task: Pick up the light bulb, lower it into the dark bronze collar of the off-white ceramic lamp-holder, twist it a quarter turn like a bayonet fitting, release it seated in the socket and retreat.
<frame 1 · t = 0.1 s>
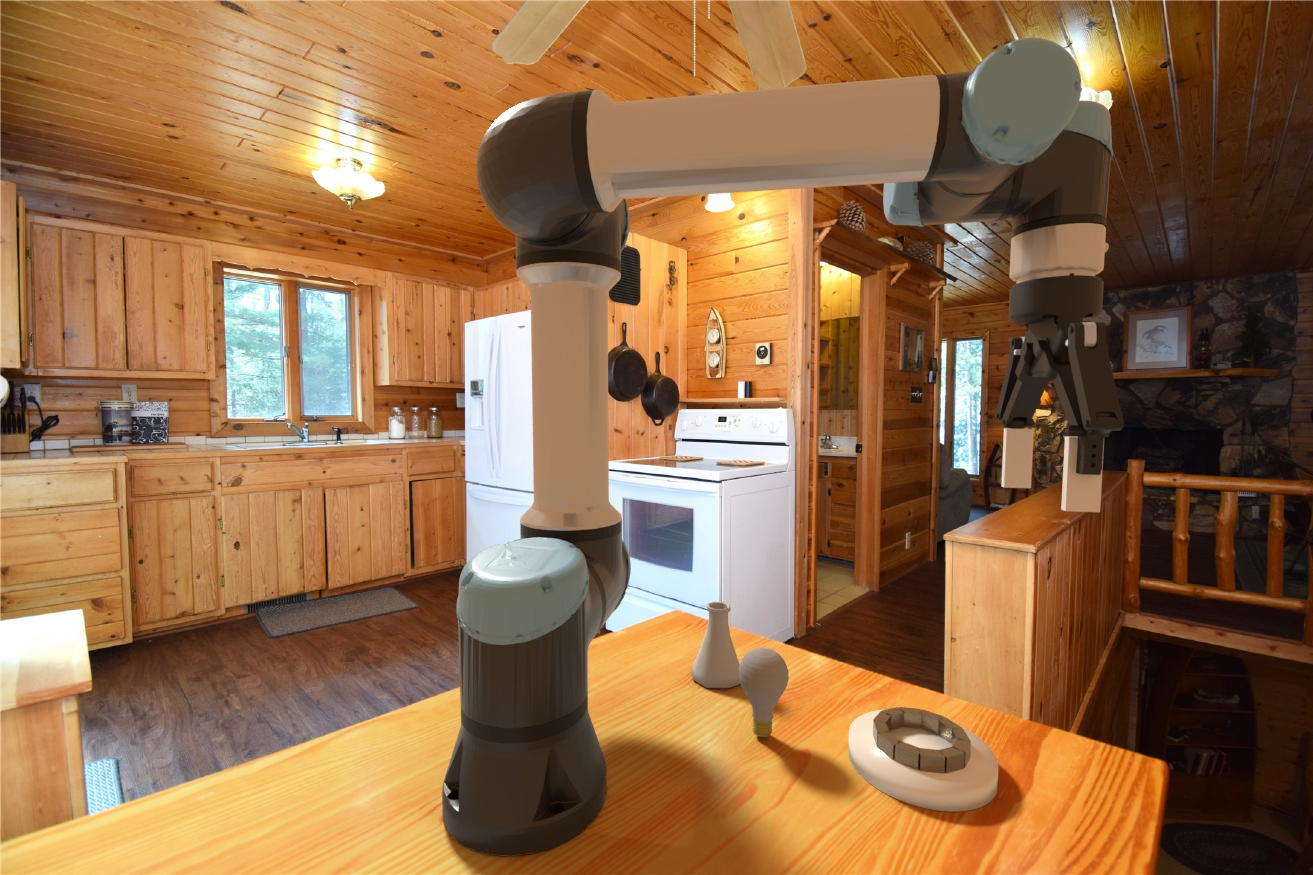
hand: (1044, 498, 58), 28 cm above the table, fingers open, 13 cm apart
socket collar: (920, 737, 60), on the socket base, point 2 cm above the table
flask: (717, 678, 79), on the table
light bulb: (762, 737, 65), on the table
socket base: (919, 763, 61), on the table
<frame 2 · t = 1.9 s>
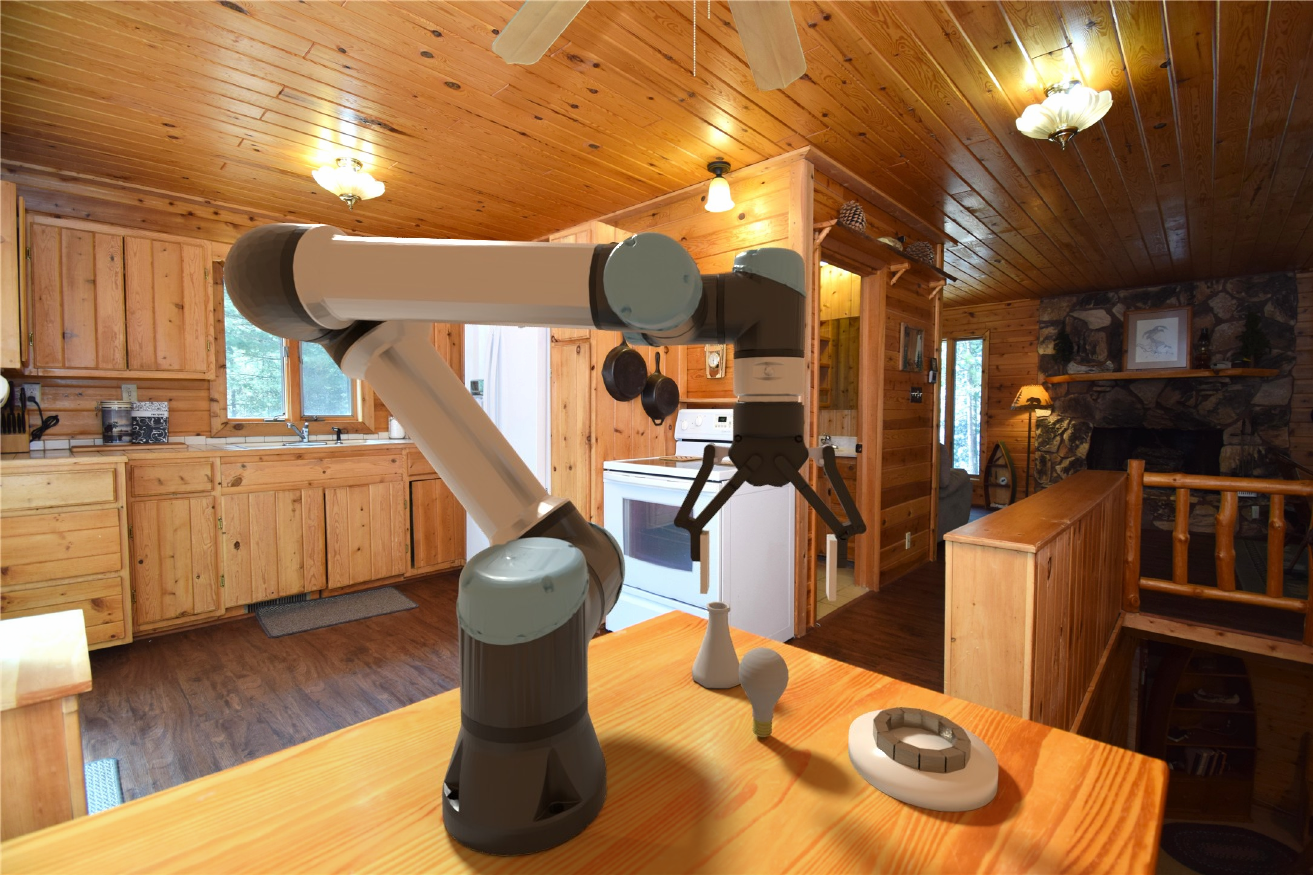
hand: (766, 593, 64), 16 cm above the table, fingers open, 13 cm apart
nothing on the table moved.
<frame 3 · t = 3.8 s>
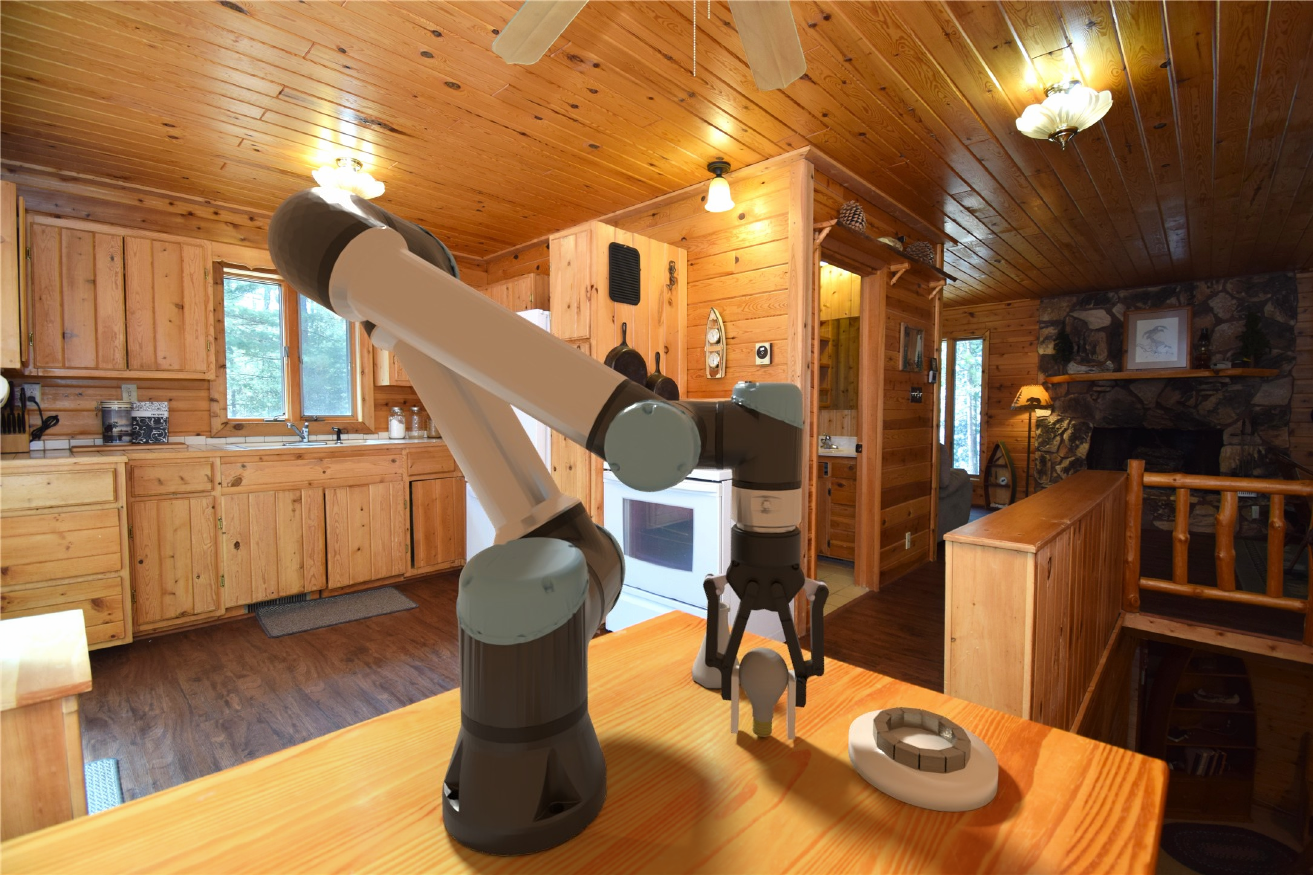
hand: (762, 729, 65), 1 cm above the table, fingers closed on light bulb, 5 cm apart
light bulb: (762, 737, 65), on the table, touching gripper
everything else where it was.
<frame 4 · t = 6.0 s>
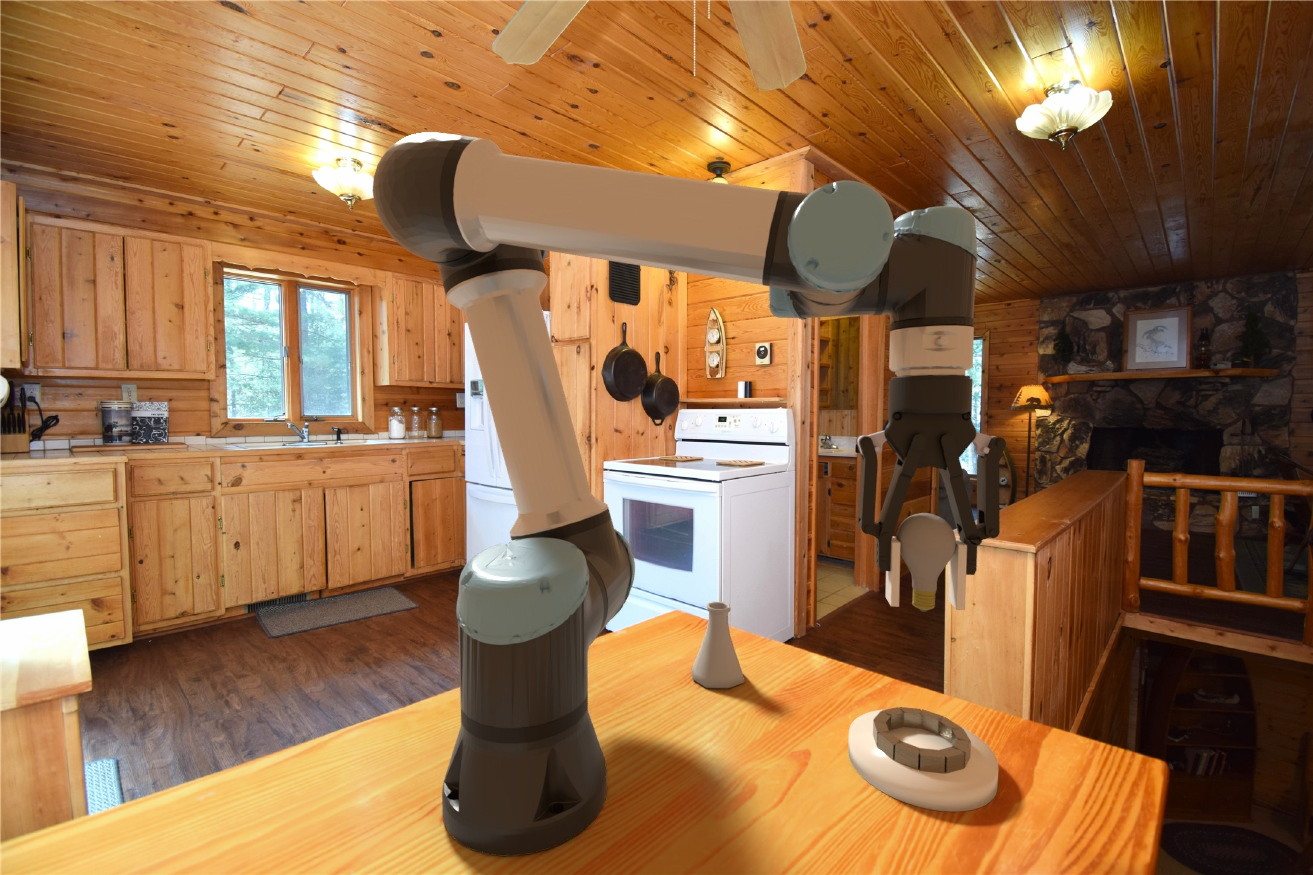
hand: (923, 603, 59), 17 cm above the table, fingers closed on light bulb, 5 cm apart
light bulb: (923, 612, 60), point 16 cm above the table, touching gripper
everything else where it was.
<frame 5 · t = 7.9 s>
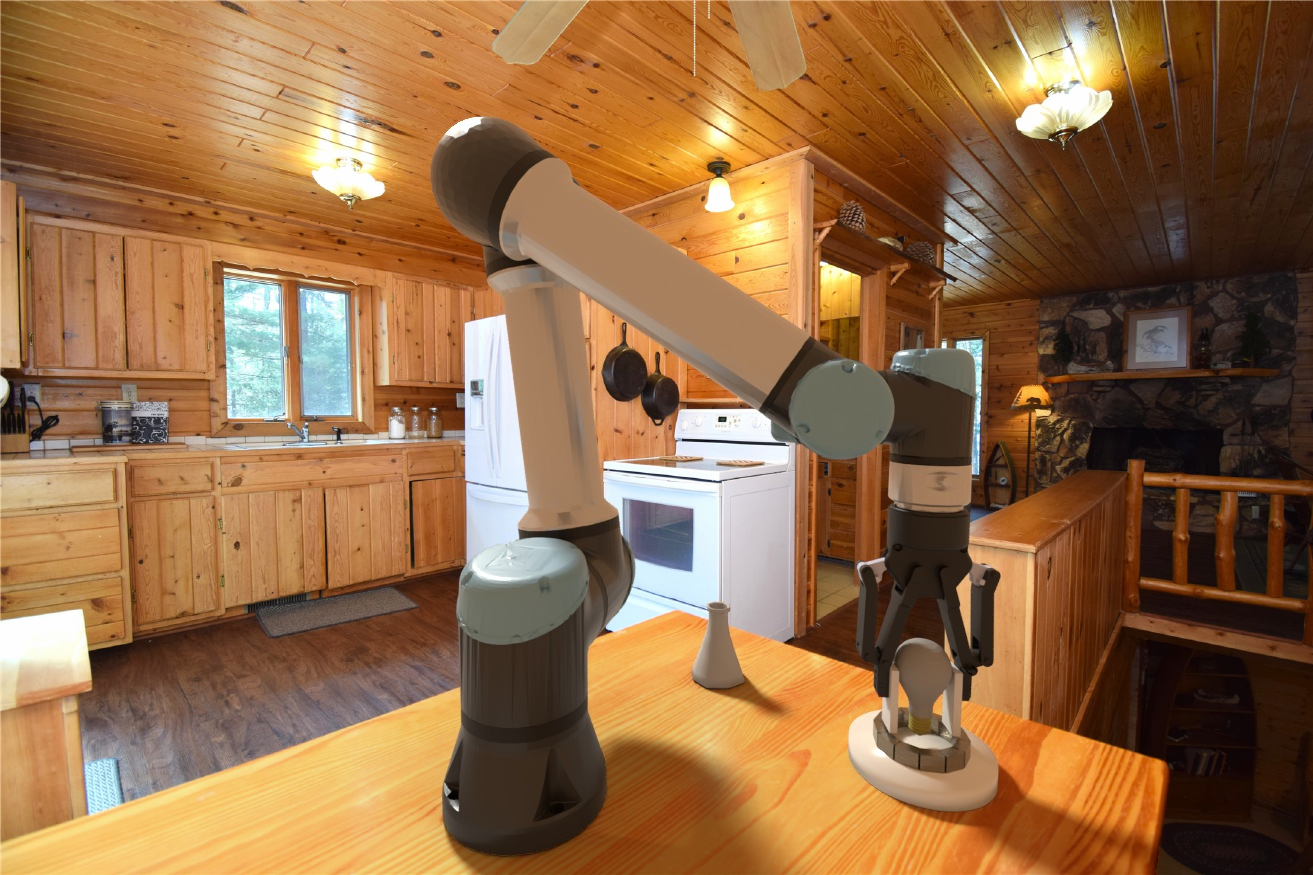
hand: (919, 726, 60), 4 cm above the table, fingers closed on light bulb, 5 cm apart
light bulb: (919, 736, 60), point 3 cm above the table, touching gripper
everything else where it was.
when the fingers open (4 cm above the table, at t = 8.4 s): light bulb drops 1 cm, resting on socket base.
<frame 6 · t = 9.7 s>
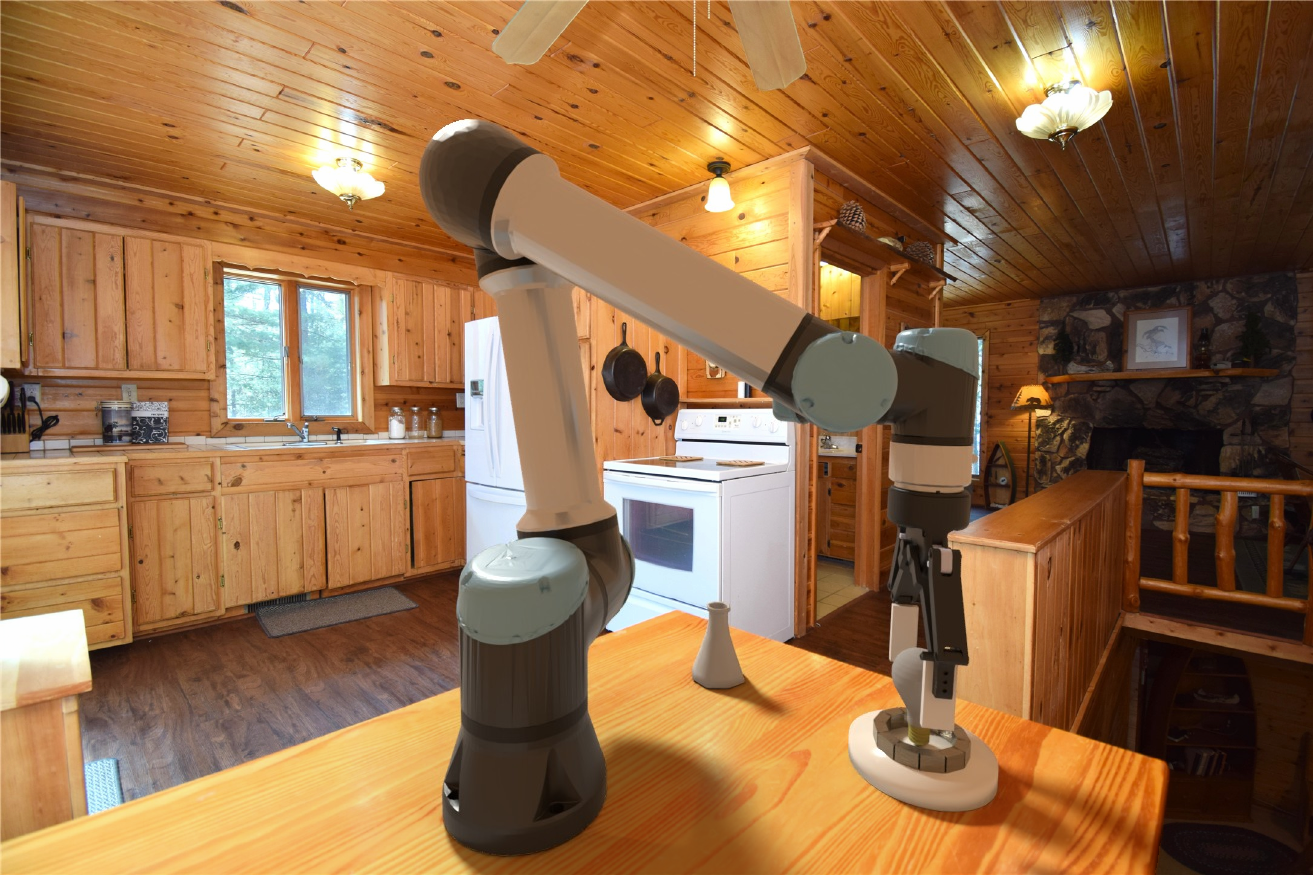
hand: (917, 690, 60), 8 cm above the table, fingers open, 13 cm apart
light bulb: (918, 745, 61), point 2 cm above the table, touching socket base
everything else where it was.
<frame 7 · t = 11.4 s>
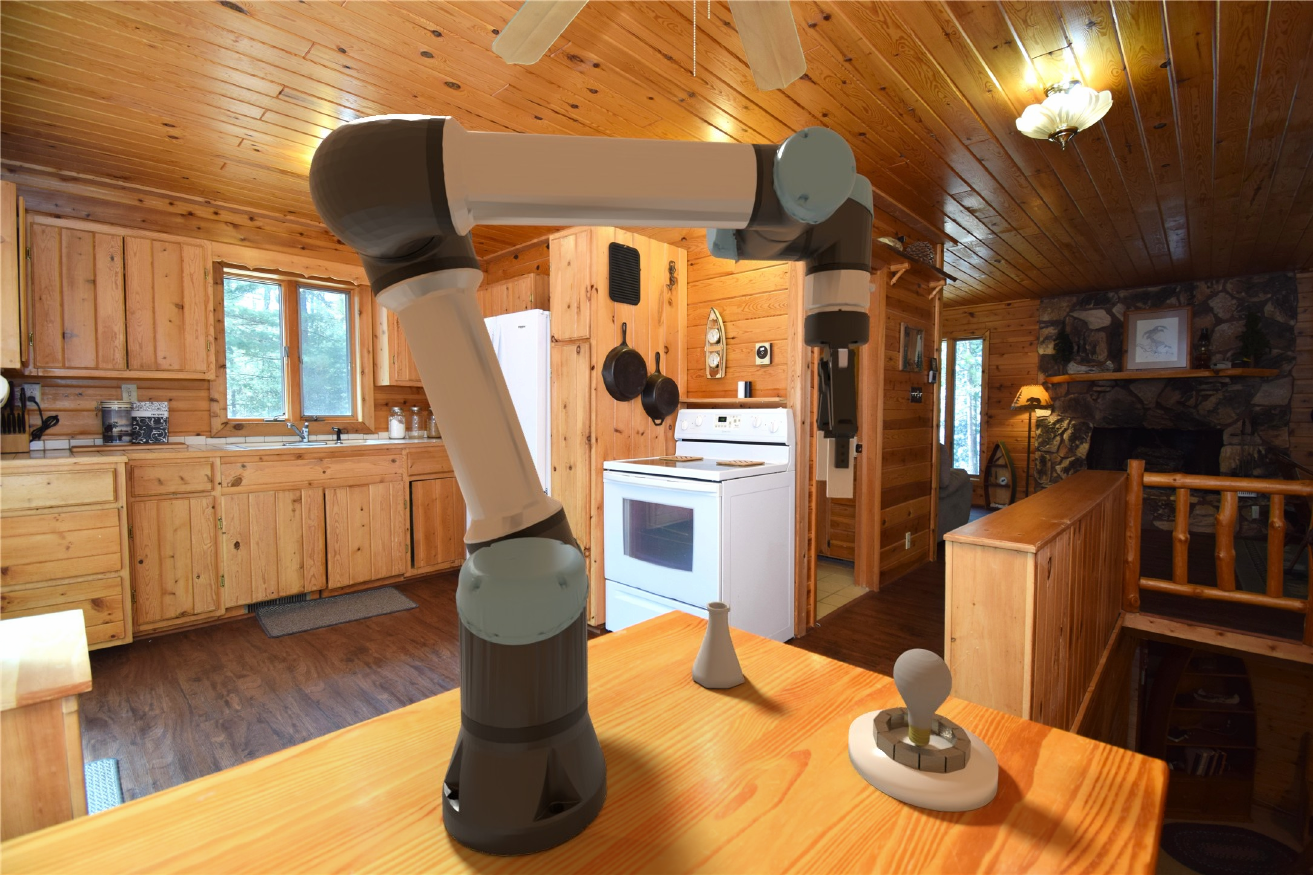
hand: (832, 488, 72), 27 cm above the table, fingers open, 13 cm apart
nothing on the table moved.
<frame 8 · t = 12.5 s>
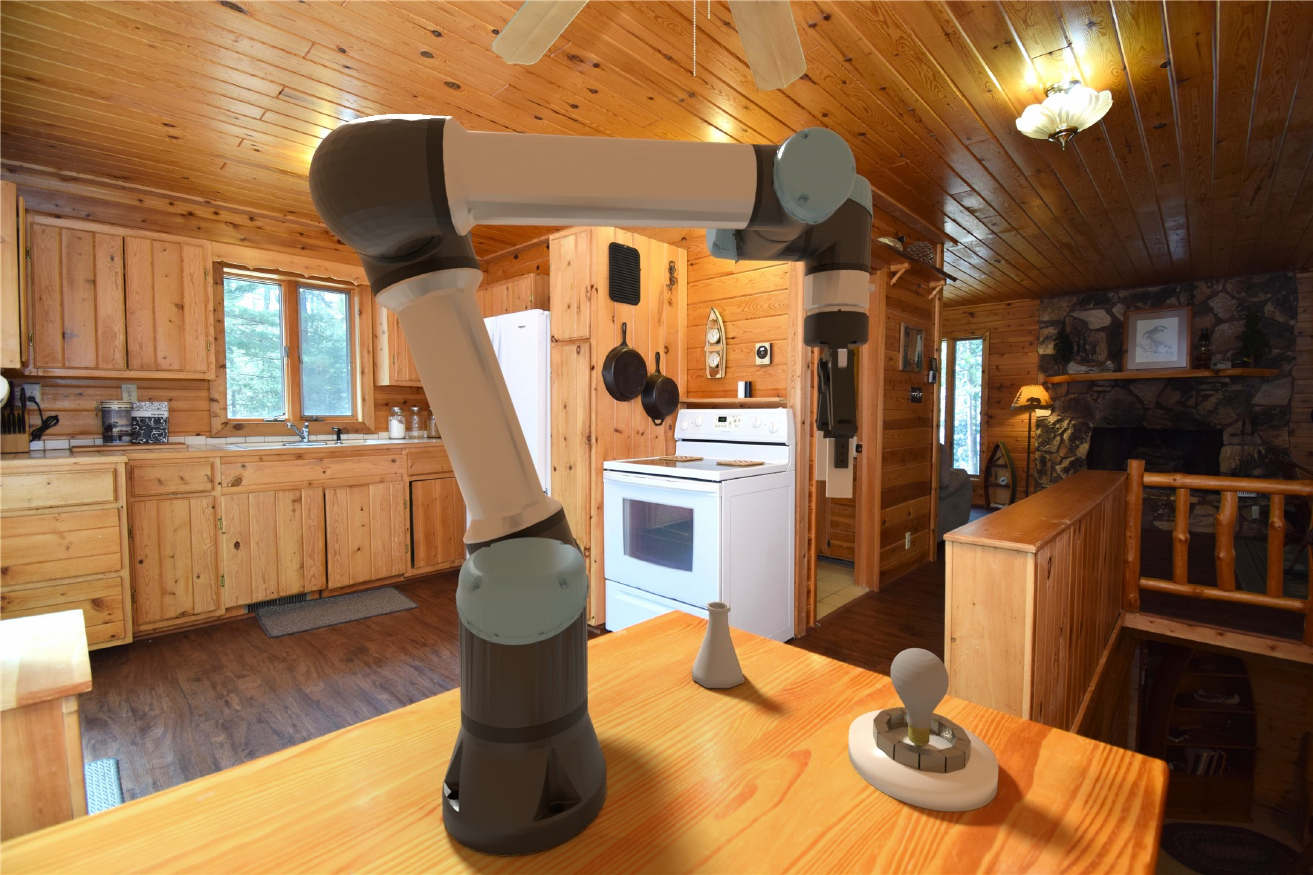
hand: (832, 488, 72), 27 cm above the table, fingers open, 13 cm apart
nothing on the table moved.
at the end: light bulb 0.2 cm from the socket base (horizontally); light bulb point 1.8 cm above the table; light bulb touching socket base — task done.
